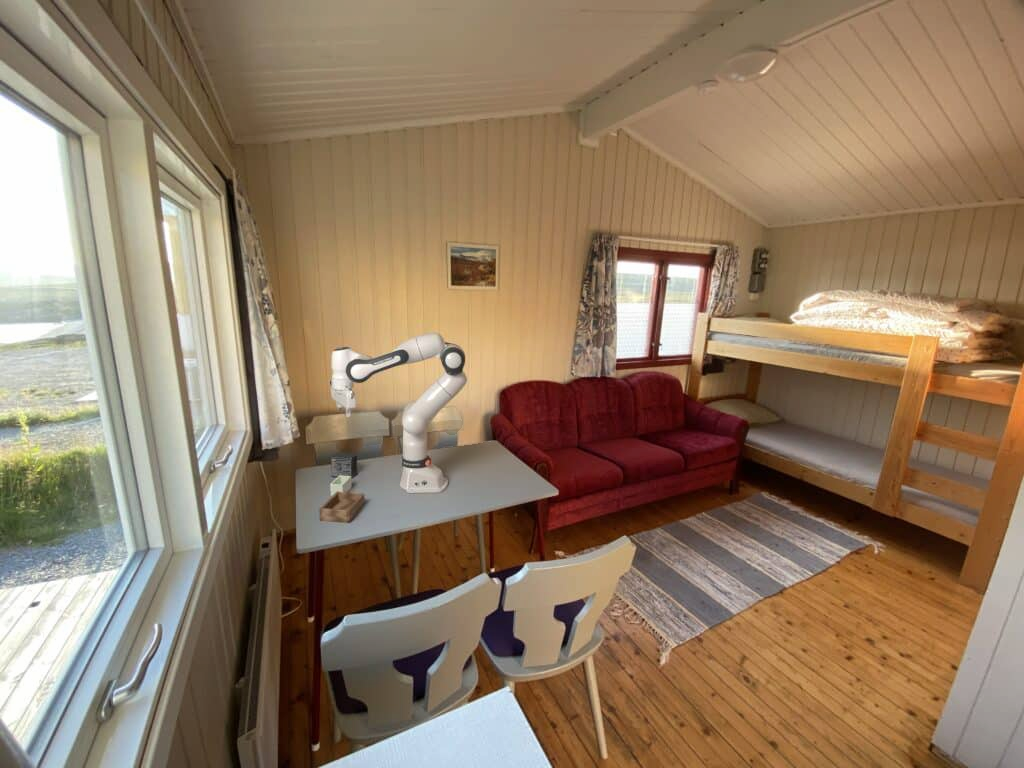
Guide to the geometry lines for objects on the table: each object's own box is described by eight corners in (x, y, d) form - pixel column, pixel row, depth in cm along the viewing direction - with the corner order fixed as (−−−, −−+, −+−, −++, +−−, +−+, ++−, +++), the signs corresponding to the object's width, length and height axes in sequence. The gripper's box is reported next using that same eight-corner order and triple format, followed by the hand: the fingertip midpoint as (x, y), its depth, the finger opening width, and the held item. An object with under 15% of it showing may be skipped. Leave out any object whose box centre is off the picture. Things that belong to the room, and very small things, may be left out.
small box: (358, 473, 212) (357, 453, 210) (352, 479, 206) (351, 458, 204) (337, 471, 213) (336, 451, 211) (331, 477, 207) (330, 456, 204)
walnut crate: (364, 504, 184) (364, 493, 183) (349, 523, 169) (349, 511, 168) (337, 502, 184) (336, 491, 183) (320, 520, 170) (319, 509, 169)
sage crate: (351, 488, 197) (351, 476, 196) (343, 497, 188) (342, 485, 187) (340, 487, 197) (339, 475, 196) (330, 496, 188) (330, 484, 187)
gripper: (359, 388, 183) (360, 418, 186) (341, 378, 198) (342, 407, 201) (344, 389, 179) (345, 421, 182) (327, 380, 194) (329, 409, 197)
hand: (344, 413), depth 192 cm, fingers open, 8 cm apart
